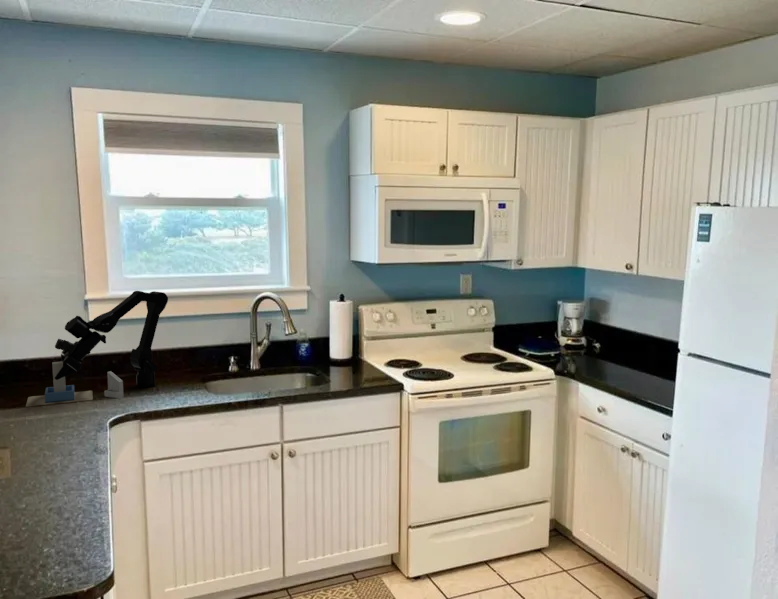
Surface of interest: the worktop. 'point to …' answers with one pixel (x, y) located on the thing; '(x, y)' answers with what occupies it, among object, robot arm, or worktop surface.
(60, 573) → the worktop surface
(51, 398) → the box
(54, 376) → the connector column
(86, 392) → the board
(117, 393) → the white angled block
